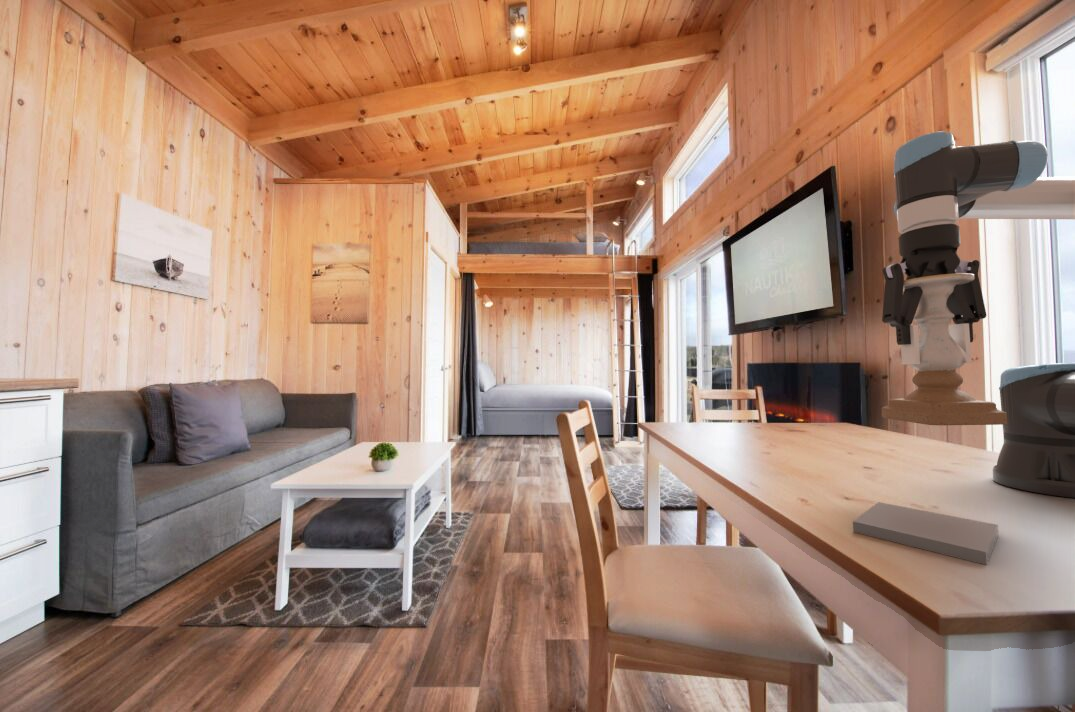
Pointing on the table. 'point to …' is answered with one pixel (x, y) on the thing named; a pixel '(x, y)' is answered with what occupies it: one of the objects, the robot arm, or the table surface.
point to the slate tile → (929, 531)
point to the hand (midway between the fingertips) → (935, 363)
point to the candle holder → (940, 365)
